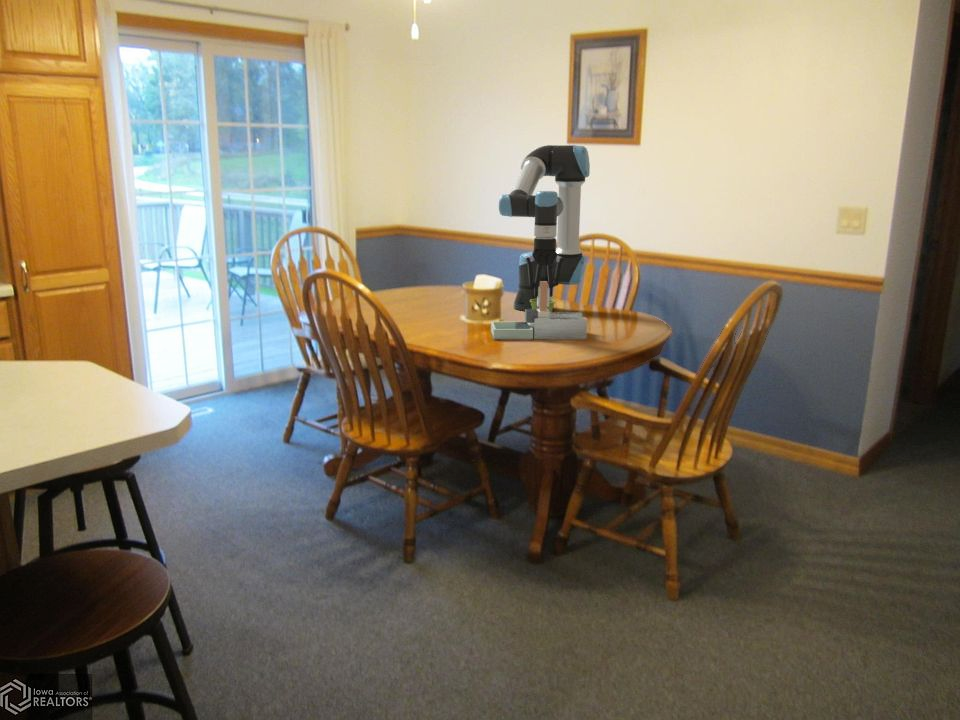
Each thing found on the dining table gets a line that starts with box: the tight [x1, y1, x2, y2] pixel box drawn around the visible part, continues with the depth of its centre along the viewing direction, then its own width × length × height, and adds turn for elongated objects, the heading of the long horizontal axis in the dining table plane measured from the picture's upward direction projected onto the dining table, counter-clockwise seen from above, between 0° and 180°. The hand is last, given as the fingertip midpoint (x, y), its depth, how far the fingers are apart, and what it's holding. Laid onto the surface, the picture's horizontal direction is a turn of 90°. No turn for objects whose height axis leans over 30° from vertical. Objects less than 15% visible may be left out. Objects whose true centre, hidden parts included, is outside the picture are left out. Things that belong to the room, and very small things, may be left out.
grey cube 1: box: [524, 309, 538, 323], centre depth 278 cm, size 4×4×4 cm
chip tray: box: [490, 321, 534, 341], centre depth 279 cm, size 13×14×4 cm
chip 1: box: [514, 321, 528, 329], centre depth 279 cm, size 4×4×4 cm
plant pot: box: [530, 298, 556, 312], centre depth 298 cm, size 9×9×9 cm
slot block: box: [530, 311, 588, 340], centre depth 279 cm, size 12×18×7 cm, turn 93°
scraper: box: [537, 281, 550, 317], centre depth 277 cm, size 5×4×14 cm
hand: (543, 305), depth 277 cm, fingers closed on scraper, 2 cm apart
